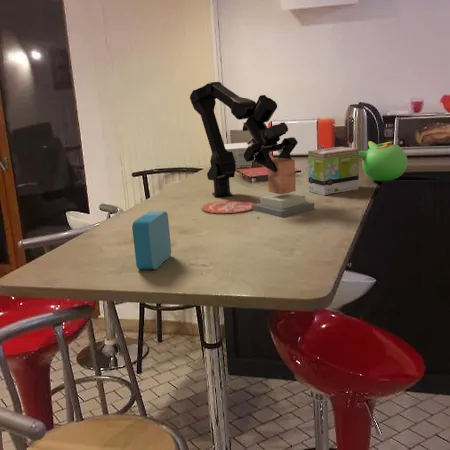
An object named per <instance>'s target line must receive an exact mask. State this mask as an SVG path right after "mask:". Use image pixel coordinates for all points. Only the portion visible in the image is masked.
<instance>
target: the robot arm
mask: <svg viewBox="0 0 450 450" xmlns="http://www.w3.org/2000/svg"><path fill="white" fill-rule="evenodd" d="M257 98H258V99H257V101H255V100H253V99H250V98H246V97H242V96H240V95H238V94H237V93H235V92H233V91H232V90H230V89H229V88H228V87H226V86H225V85H223V83H222V82H220V81H211V82H208V83H206V84H205V85H203V86H201V87H199V88H197V89H193V90H192V92H191V93H190V95H189V100H190V102H191V105H192V108H193V109H194V111H196V113H198V114H199V116H200V118H201V121H202V124H203V127H204V131H205V134H206V137H207V141H208V144H209V148H210V150H211V156H210V161H209V162H210V168H209V170H208V171H207V172H206V173H207V174H206V176H207V180H208V181H209V180H210V181H213V189H214V190H213V191H214V192H212V195H213V197H214V198H223V197H232V196H233V193H232V192H231V187H230V186H231V185H230V184H231V183H230V179H231V178H235V175H236V169H237V168H236V164H235V162H236V161H235V159H234V156H233V153H232V152H228V151H227V150H226V149H225V146H224V144H225V143H224V140H223V136H222V133H221V130H220V126H219V124H218V123H219V122H218V121H217V118H216V114H215V107H216V99H217V100H218V101H220V102H221V103H223V105H225V106H227V107H228V108H229V109H230V112H231V114H232V115H233V116H234V118H235V119H237V120H239V121H240V120H246V121H245V122H243V126H242V132H247V131H248V132H249V134H250V136H251V137H252V138H253V139H252V140H251V143H250V144H249V143H248V145H249V146H248V148H247V149H246V151H245V152H244V158H245V160H246V162H250V161H252V162H254V163H257V164H260V165H261V166H263V167H265V168H266V169H268V168H269V169H270V170H272V171H274V172H277V168H276V166H275V164H274V163H273V161H272V160H273V159H272V157H271V156H270V153H273V152H278V156H277V159H278V158H286V159H292V157H291V153H292V152H293V151H294V149H295V147H297V145H298V144H299V143H298V140H297V139H296V138H295V136H294V137H293V136H292V137H286V138H285V137H284V138H283V140H281V137H282V136H283V135H286V134H287V133H288V131H289V127H288V125H287V124H286V122H279V123H278V124H274V125H271V126H270V127H268V126H267V125H266V123H267V122H269V121H270V120H271V118H272V116H273V115H274V113H275V112H276V110H277V108H278V104H277V102H276V100H274V99H272V98H270V97H267V96H266V94H261V95H259V96H258V97H257ZM280 140H281V142H280V143H278V142H279V141H280Z"/></svg>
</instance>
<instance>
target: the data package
mask: <svg viewBox="0 0 450 450" xmlns="http://www.w3.org/2000/svg"><path fill="white" fill-rule="evenodd" d="M131 228H132V230H131V231H132V238H133V247H134V256H135V264H136V267H137V269H138V270H151V269H154V270H155V269H156V270H157V269H158V268H159V267H160V266H161V265H163V264H164V263H165V262H166V261H168V259H169V258H170V257H171V256H172V255H171V254H172V245H171V244H172V243H171V234H170V232H171V231H170V222H169V214H168V212H167V211H166V210H165V211H164V210H163V211H162V210H160V211H157V210H156V211H153V210H152V211H151V210H149V211H148V212H146V213H144V214H143V215H141V216H140V217H138V218H137V219H135V220H133V223H132V225H131ZM165 260H166V261H165ZM164 261H165V262H164ZM163 262H164V263H163ZM162 263H163V264H162Z"/></svg>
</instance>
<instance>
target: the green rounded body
mask: <svg viewBox="0 0 450 450" xmlns="http://www.w3.org/2000/svg"><path fill="white" fill-rule="evenodd" d="M367 145H368V149H367V150H359V159H361V160H362V161H361V166H362V170H363V172H364V174H365V175H366V176H367V177H368V178H370V179H371V180H373V181H375V182H376V181H377V182H381V183H382V182H390V181H394V180H396V179H398V178H400V177H401V176H402V175H403V174H404V173H405V171H406V169H407V167H408V157H407V154H406V152H405V150H404V149H403V148H402V147H401V146H399V145H397V144H393V141H387V142H382V143H378V144H377V143H375V142H373V141H371V140H369V141H368V142H367Z"/></svg>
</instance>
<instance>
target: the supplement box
mask: <svg viewBox="0 0 450 450" xmlns="http://www.w3.org/2000/svg"><path fill="white" fill-rule="evenodd" d="M224 146H225V149H226V150H227V151H228V152H232V153H233V156H234V159H235V161H236V162H235V164H236V169H240V168H239V167H247V168H250V167H249V166H252V167H253V161H250V162H246V160H245V158H244V152H245V151H246V149H247V148H248V146H249V143H248V142H234V143H224Z"/></svg>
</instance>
